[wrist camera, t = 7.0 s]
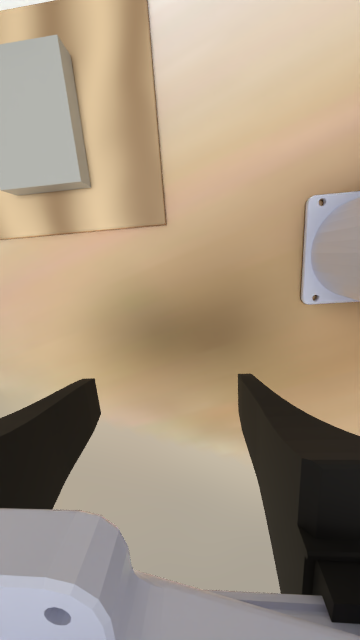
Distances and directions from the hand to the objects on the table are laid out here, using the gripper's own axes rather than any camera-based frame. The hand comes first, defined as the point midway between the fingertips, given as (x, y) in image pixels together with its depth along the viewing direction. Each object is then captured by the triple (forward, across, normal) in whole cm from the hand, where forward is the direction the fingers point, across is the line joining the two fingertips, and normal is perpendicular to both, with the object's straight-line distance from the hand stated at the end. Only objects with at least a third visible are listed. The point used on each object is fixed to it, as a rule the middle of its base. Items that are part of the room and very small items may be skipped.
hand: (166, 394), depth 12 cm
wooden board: (+10, +8, -16) cm, 20 cm away
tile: (+8, +6, -16) cm, 19 cm away
